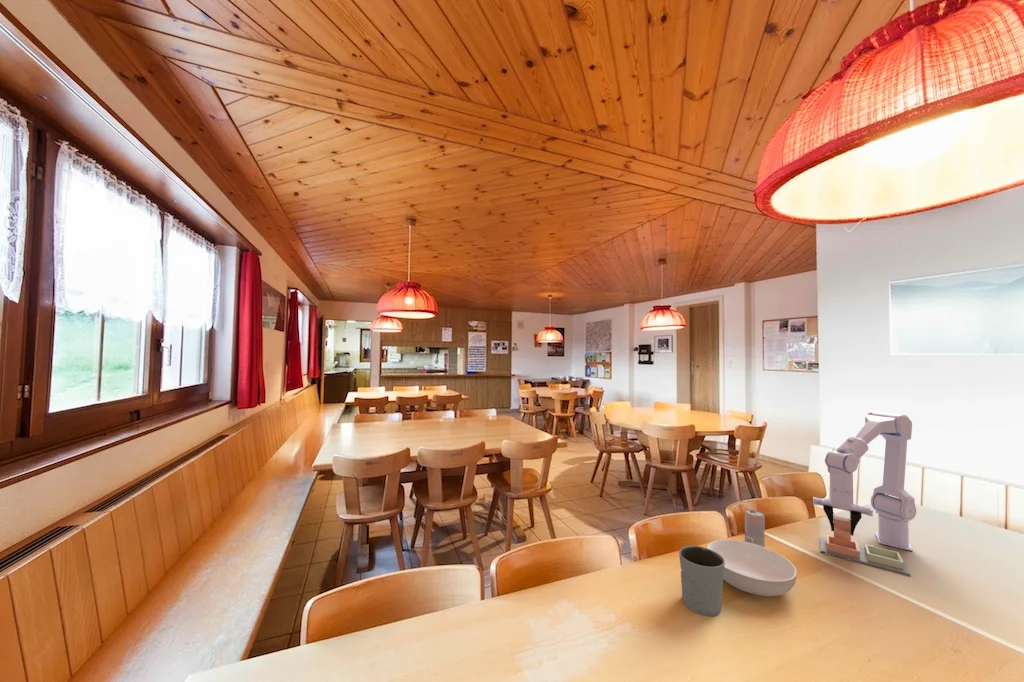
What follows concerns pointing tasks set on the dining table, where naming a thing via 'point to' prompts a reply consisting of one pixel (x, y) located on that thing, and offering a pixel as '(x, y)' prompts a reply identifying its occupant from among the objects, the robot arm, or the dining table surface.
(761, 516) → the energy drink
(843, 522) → the terracotta block
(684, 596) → the grey cup
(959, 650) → the dining table surface
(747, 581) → the serving bowl
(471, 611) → the dining table surface
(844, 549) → the sorting board
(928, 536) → the dining table surface
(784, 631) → the dining table surface
